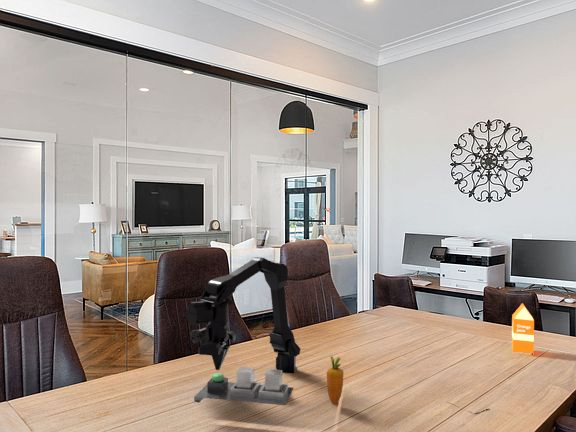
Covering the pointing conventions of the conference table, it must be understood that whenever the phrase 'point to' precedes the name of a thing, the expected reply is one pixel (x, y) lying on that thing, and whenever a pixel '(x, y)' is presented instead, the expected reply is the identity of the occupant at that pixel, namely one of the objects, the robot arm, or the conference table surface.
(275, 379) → the block
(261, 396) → the dark grey fixture board
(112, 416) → the conference table surface
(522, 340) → the orange juice
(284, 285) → the robot arm
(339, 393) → the carrot
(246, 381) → the aluminium block
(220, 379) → the button
